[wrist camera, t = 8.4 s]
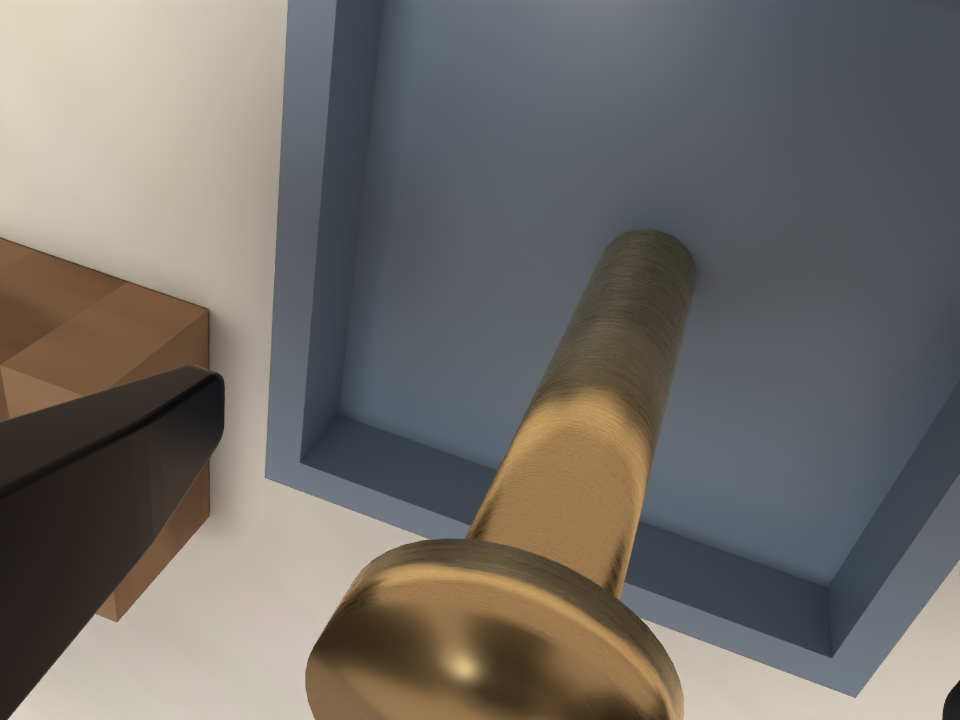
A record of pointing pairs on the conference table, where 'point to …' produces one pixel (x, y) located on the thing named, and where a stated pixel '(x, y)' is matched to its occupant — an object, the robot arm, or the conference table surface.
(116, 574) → the robot arm
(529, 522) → the brass pin
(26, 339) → the pin block
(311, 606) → the conference table surface
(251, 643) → the conference table surface
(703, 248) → the tray
